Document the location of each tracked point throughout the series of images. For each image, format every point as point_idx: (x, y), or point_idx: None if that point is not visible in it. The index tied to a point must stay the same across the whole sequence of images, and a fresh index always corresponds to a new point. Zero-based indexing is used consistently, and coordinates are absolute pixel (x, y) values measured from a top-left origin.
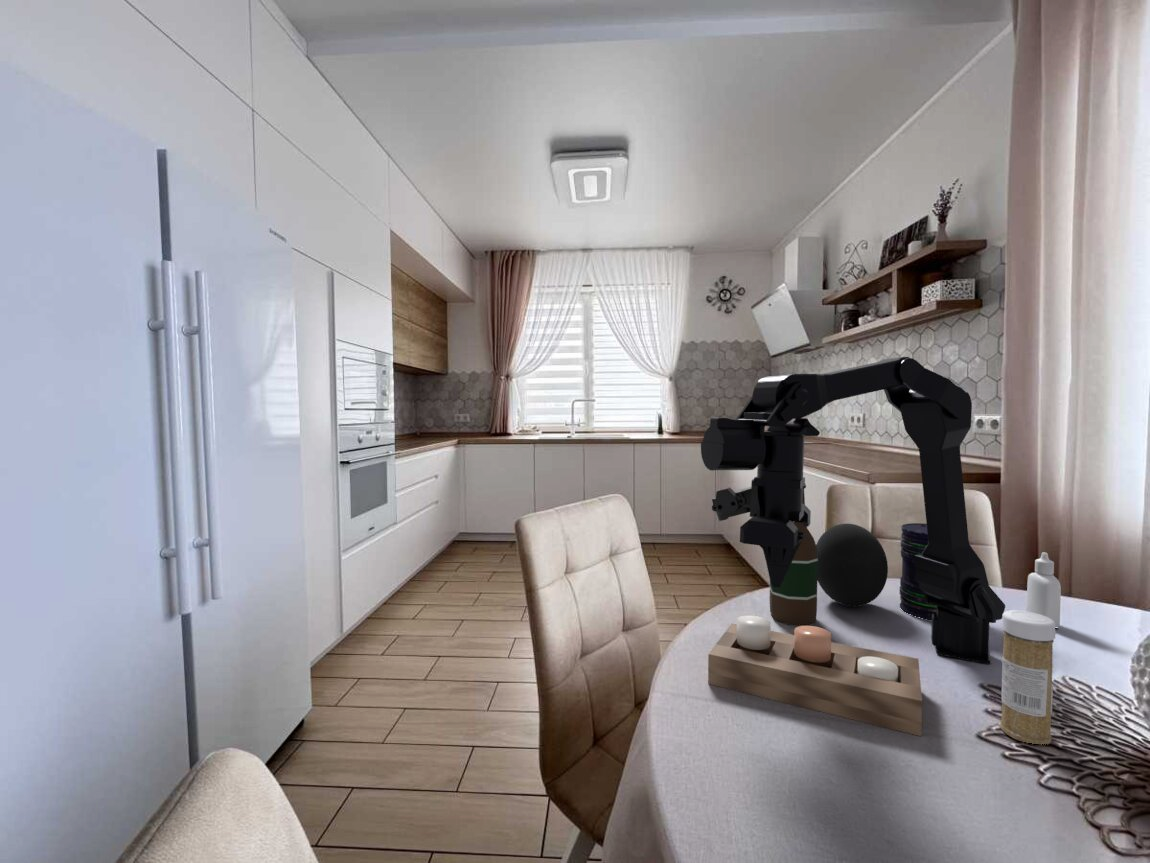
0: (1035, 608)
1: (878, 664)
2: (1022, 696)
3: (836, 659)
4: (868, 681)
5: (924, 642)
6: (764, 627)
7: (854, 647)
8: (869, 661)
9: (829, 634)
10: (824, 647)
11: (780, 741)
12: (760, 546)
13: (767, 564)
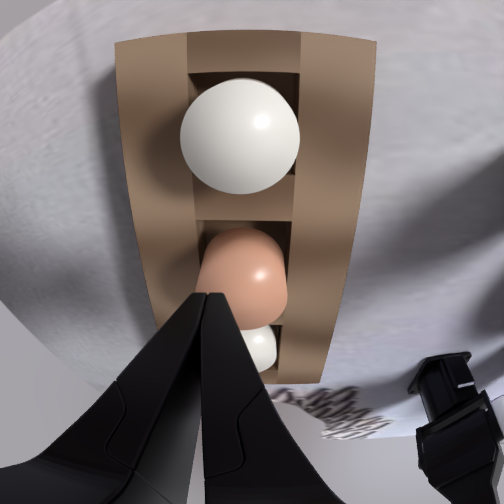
0: (501, 411)
1: None
2: None
3: None
4: None
5: (463, 343)
6: (204, 182)
7: (332, 319)
8: (249, 348)
9: (248, 327)
10: None
11: (52, 210)
12: (11, 466)
13: (120, 378)
